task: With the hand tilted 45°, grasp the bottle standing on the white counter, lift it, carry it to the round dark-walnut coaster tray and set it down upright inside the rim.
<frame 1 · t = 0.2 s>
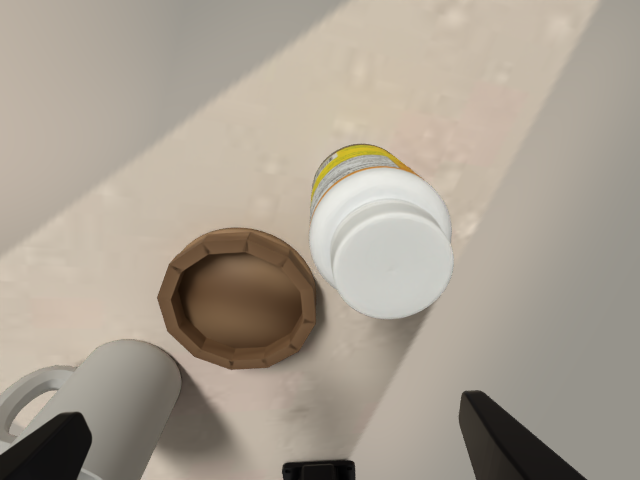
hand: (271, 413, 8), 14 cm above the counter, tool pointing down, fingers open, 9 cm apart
cup: (120, 365, 26), on the counter
supplement bottle: (357, 187, 20), on the counter
walnut tray: (243, 295, 23), on the counter
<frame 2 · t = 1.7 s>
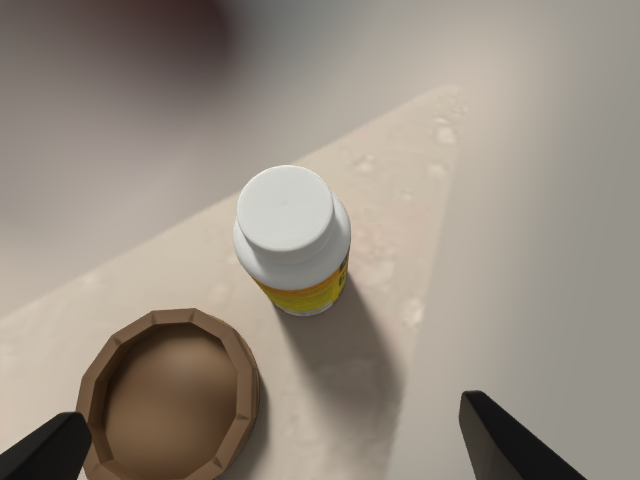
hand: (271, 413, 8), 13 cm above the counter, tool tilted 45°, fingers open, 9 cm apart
supplement bottle: (305, 277, 23), on the counter
walnut tray: (177, 396, 20), on the counter
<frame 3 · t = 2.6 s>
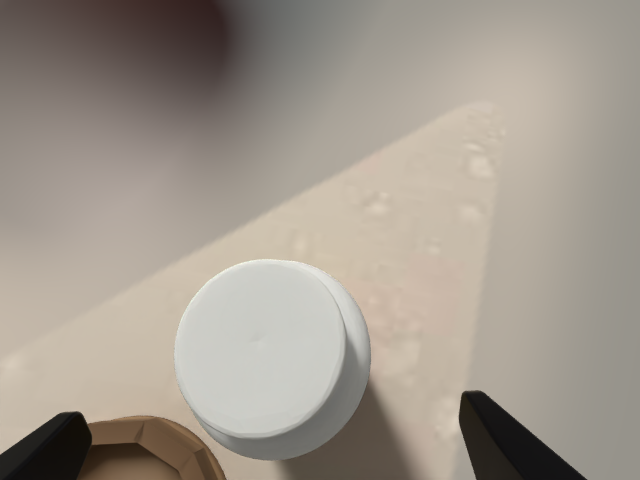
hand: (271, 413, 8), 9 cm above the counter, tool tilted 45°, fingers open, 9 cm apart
supplement bottle: (301, 362, 17), on the counter
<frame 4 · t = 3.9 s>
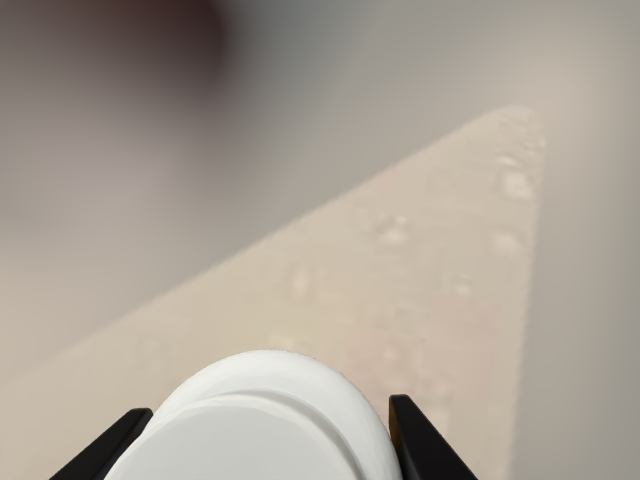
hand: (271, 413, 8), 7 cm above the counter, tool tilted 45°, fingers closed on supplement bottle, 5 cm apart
supplement bottle: (300, 434, 14), on the counter, touching gripper
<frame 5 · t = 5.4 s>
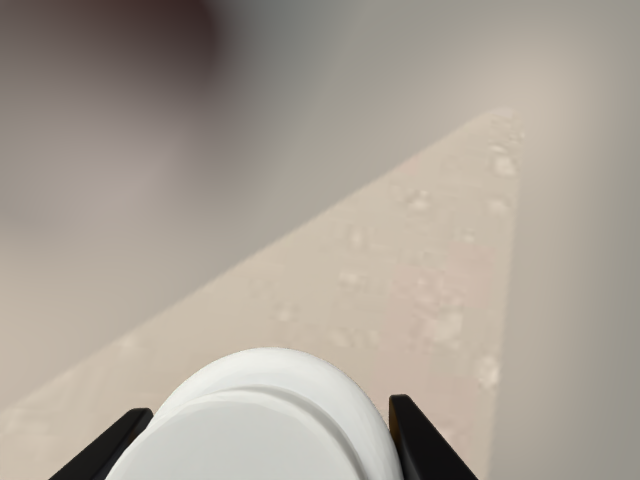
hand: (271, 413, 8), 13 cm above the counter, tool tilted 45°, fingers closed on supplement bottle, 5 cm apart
supplement bottle: (302, 432, 14), point 6 cm above the counter, touching gripper
when the fingers open (8 cm above the counter, at t = 7.3 s): supplement bottle stays where it is, resting on walnut tray.
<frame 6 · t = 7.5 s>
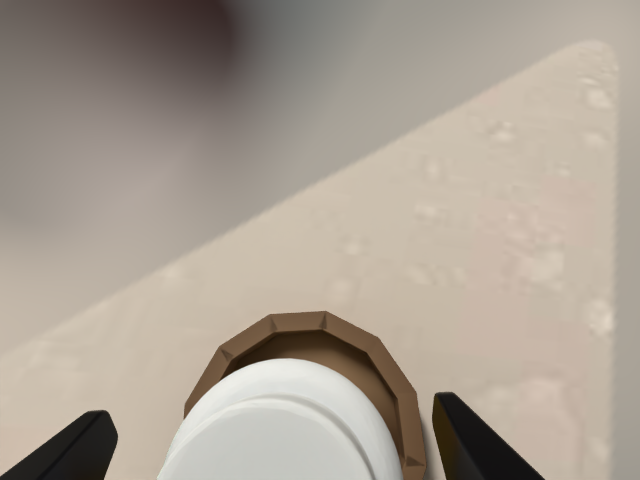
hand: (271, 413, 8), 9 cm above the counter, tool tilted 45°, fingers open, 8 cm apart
supplement bottle: (305, 433, 15), resting on walnut tray
walnut tray: (304, 427, 15), on the counter
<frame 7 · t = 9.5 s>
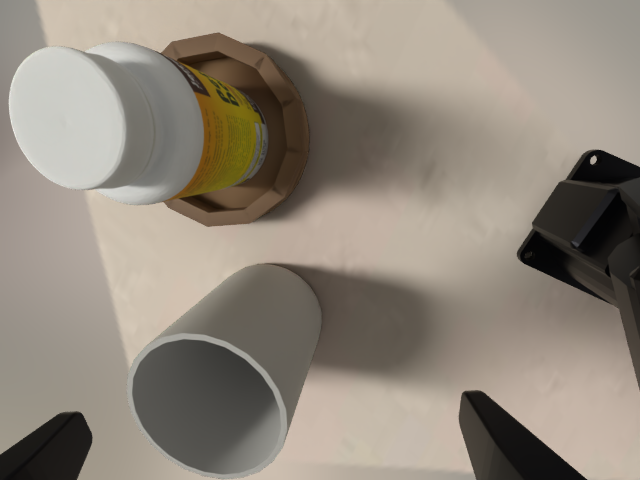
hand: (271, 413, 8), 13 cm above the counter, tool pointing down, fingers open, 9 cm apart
cup: (257, 321, 23), on the counter
supplement bottle: (227, 138, 19), resting on walnut tray
walnut tray: (227, 138, 20), on the counter
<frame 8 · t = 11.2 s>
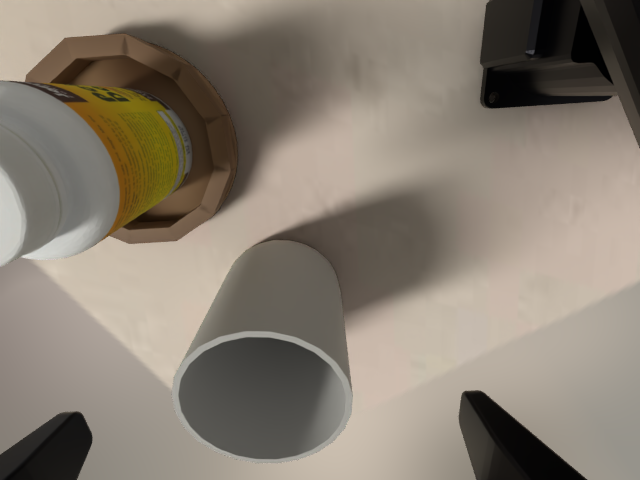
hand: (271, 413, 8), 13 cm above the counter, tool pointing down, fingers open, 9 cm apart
cup: (276, 303, 22), on the counter
supplement bottle: (143, 145, 18), resting on walnut tray
walnut tray: (144, 146, 18), on the counter
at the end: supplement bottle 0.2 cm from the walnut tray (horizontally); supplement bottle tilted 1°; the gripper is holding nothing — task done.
